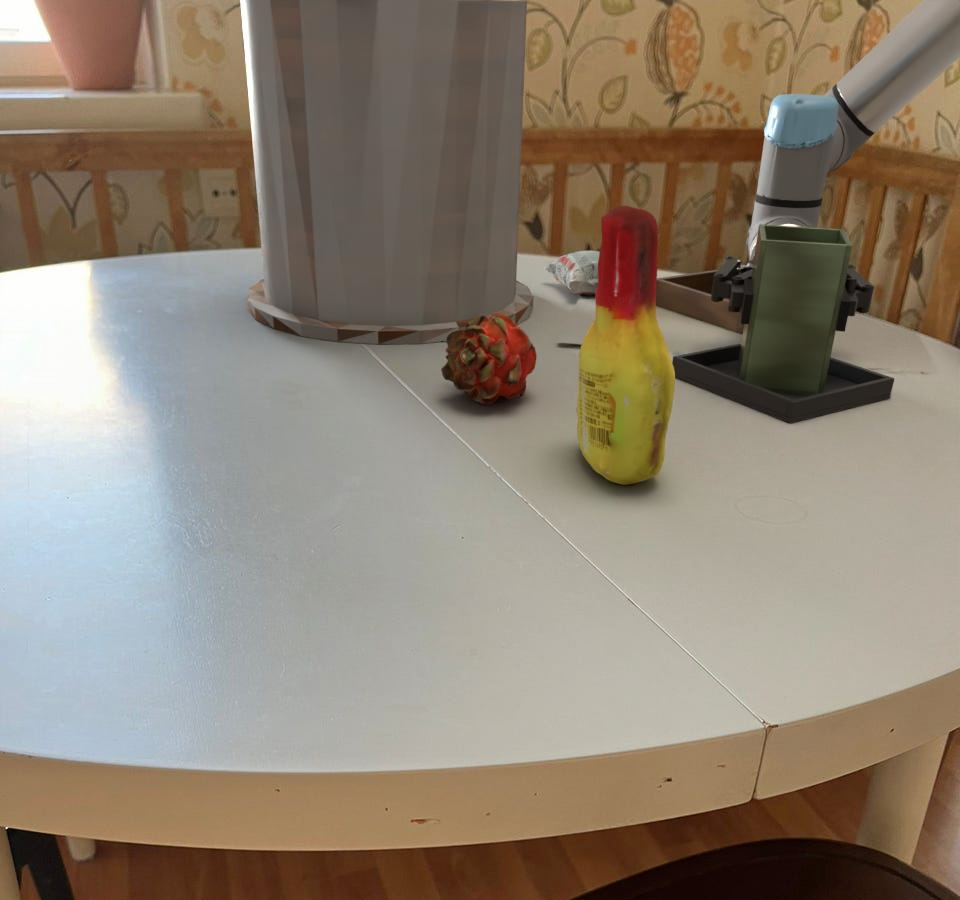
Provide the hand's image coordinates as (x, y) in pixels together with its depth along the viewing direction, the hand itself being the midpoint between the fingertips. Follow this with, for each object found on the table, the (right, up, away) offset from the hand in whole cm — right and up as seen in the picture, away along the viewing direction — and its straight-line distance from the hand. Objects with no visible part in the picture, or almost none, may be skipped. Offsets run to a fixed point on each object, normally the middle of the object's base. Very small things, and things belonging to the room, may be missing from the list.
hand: (795, 312), depth 97 cm
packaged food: (-15, +15, +40) cm, 45 cm away
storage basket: (-40, +11, +33) cm, 53 cm away
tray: (+1, -5, +8) cm, 10 cm away
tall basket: (+1, -4, +8) cm, 9 cm away
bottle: (-18, -16, -11) cm, 27 cm away
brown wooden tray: (+3, +10, +32) cm, 34 cm away
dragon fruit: (-28, -7, +4) cm, 29 cm away
